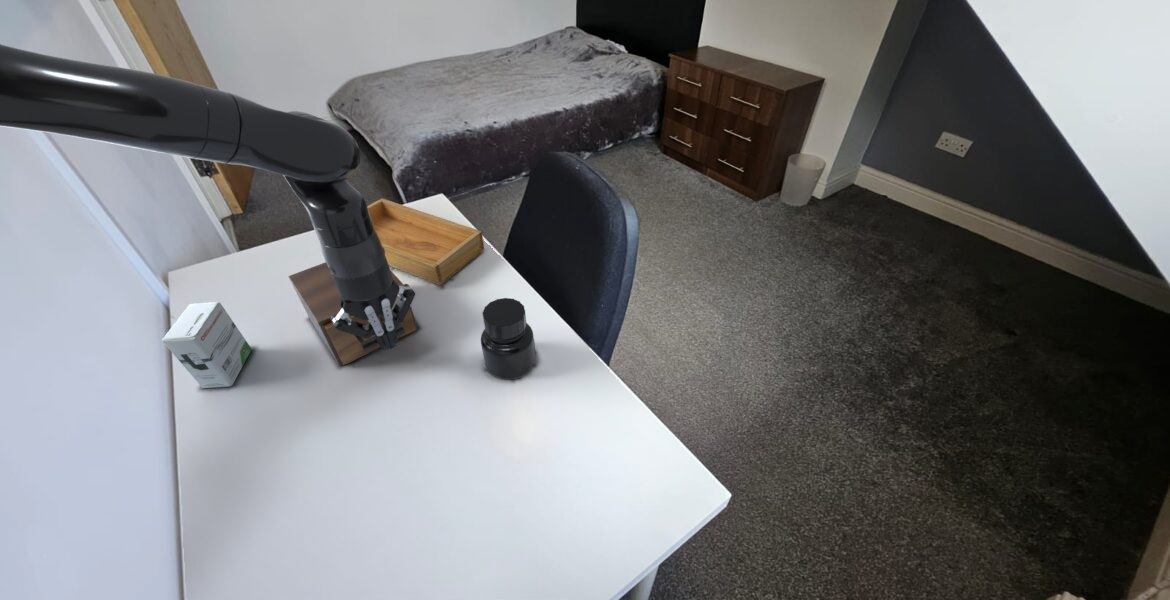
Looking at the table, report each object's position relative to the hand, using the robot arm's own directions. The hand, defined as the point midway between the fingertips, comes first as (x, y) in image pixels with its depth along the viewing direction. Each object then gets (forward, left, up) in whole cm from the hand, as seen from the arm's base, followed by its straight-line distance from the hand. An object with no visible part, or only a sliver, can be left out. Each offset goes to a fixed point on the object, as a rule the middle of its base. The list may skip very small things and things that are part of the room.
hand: (389, 345), depth 78 cm
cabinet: (0, +15, -6) cm, 16 cm away
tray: (+18, +32, -6) cm, 37 cm away
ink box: (-22, +19, -6) cm, 30 cm away
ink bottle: (+16, -11, -6) cm, 20 cm away
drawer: (0, +11, -5) cm, 12 cm away
